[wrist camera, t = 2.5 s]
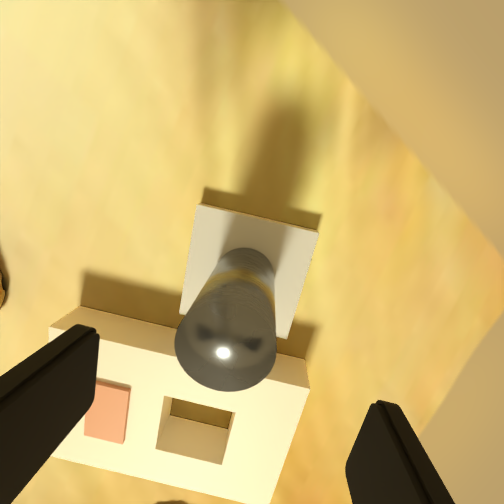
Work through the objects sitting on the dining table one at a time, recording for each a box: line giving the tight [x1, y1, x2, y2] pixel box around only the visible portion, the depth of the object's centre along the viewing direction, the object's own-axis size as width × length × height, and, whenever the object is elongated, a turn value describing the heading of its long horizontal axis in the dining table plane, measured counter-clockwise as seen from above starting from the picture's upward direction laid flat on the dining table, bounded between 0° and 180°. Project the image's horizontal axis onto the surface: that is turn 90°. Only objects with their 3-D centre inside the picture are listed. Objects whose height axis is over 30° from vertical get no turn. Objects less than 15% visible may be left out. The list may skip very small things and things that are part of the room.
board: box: [49, 306, 310, 504], centre depth 21 cm, size 12×18×3 cm, turn 77°
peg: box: [174, 247, 277, 392], centre depth 14 cm, size 4×4×8 cm
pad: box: [179, 203, 319, 339], centre depth 18 cm, size 8×8×1 cm
